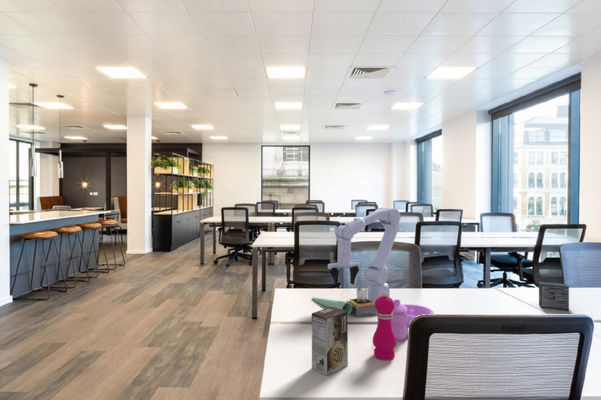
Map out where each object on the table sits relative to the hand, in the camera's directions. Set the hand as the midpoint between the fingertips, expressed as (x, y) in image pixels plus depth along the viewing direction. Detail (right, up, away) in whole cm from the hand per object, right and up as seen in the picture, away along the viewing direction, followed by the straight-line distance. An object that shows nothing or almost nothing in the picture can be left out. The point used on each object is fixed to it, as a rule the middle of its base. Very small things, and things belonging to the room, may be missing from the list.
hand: (344, 284), depth 166 cm
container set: (+20, -11, -26) cm, 35 cm away
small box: (+93, -11, +3) cm, 93 cm away
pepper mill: (+7, -12, -48) cm, 50 cm away
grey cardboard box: (-10, -12, -56) cm, 58 cm away
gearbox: (+7, -11, -5) cm, 13 cm away
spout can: (+7, -7, -5) cm, 11 cm away
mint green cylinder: (-7, -11, +3) cm, 13 cm away
